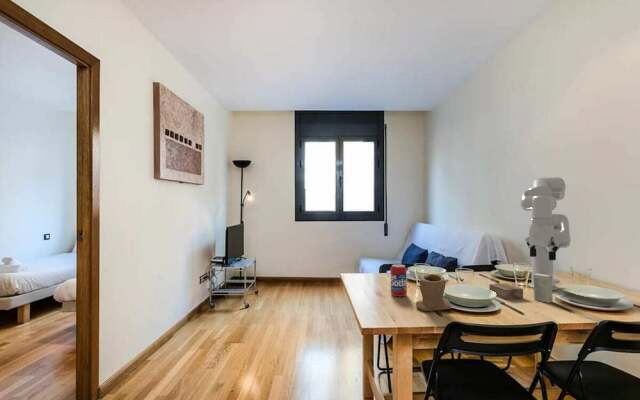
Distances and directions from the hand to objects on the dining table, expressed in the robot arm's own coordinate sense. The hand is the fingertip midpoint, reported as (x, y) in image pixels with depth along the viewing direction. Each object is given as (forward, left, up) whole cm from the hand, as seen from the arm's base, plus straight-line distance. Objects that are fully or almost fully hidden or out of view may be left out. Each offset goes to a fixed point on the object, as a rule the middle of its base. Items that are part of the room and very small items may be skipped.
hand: (542, 258), depth 142 cm
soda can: (+62, -23, -20) cm, 69 cm away
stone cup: (+56, -1, -20) cm, 59 cm away
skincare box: (0, 0, -20) cm, 20 cm away
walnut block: (+11, -10, -20) cm, 25 cm away
